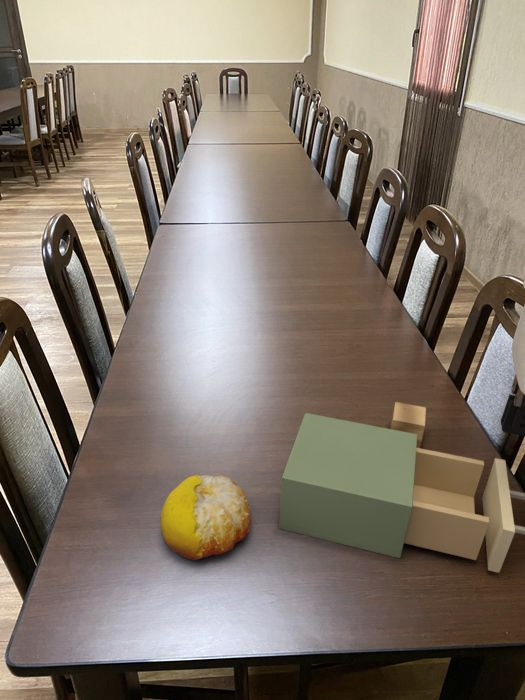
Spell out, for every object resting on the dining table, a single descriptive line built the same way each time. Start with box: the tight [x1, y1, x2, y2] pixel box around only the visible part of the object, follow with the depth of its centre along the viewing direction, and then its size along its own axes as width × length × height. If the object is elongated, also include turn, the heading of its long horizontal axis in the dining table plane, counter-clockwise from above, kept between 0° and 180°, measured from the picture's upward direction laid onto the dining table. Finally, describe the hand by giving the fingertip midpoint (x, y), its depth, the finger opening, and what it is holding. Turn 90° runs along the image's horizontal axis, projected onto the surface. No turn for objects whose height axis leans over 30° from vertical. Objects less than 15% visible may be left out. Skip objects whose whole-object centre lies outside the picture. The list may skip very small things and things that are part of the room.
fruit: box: [160, 474, 252, 561], centre depth 64 cm, size 11×10×8 cm
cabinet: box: [278, 412, 417, 559], centre depth 67 cm, size 15×13×9 cm
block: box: [390, 401, 427, 449], centre depth 80 cm, size 4×4×4 cm
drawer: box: [404, 447, 525, 574], centre depth 64 cm, size 19×11×7 cm, turn 74°
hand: (515, 429), depth 60 cm, fingers closed
